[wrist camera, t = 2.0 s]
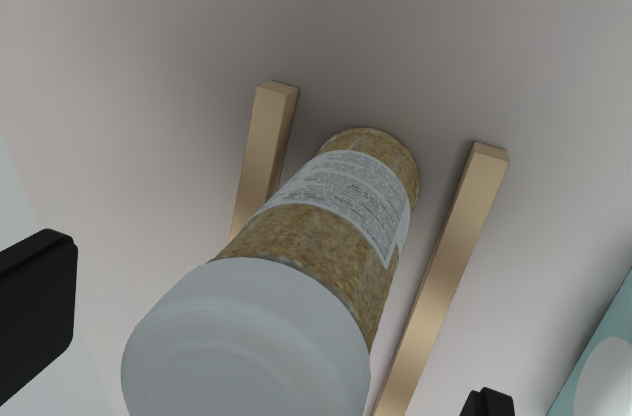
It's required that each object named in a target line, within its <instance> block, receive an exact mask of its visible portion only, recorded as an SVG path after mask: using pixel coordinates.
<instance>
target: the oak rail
mask: <svg viewBox="0 0 632 416" xmlns="http://www.w3.org/2000/svg"><path fill="white" fill-rule="evenodd" d="M298 91H299V88H295V87H292V86H289V85H285V84H282V83H279V82H275V81H272V80H270V81H267V82H265V83H263V84H260V85H258V86H257V87H256V92H255V98H254V104H253V109H252V115H251V120H250V126H249V131H248V137H247V143H246V148H245V154H244V159H243V165H242V170H241V176H240V181H239V187H238V193H237V198H236V204H235V209H234V215H233V220H232V226H231V231H230V237H229V243H230V242H231V241H232V240H233V239H234V238H235V237H236V236H237V234H238V232H239V231H240V229H241V228H242V227H243V226H244V224H245V223H246V222H247V221H248V220H249V219H250V218H251V217H252V216H253V215H254V214H255V213H256V212H257V211H258V210H259V209H260V208H261V207H262V206H263V205H264V204H265V203H266V202H267V201H268V200H269V199H270V198H271V197H272V196H273V195H274V194H275V193H276V192H277V188H278V184H279V179H280V174H281V170H282V165H283V160H284V156H285V151H286V146H287V142H288V137H289V133H290V128H291V123H292V119H293V114H294V109H295V105H296V100H297V95H298ZM508 164H509V158H508V154H507V151H506V150H503V149H500V148H496V147H493V146H489V145H486V144H483V143H479V142H476V141H475V142H474V144H473V147H472V150H471V152H470V155H469V158H468V160H467V163H466V166H465V168H464V171H463V173H462V176H461V179H460V181H459V184H458V187H457V189H456V192H455V195H454V197H453V200H452V203H451V205H450V208H449V211H448V213H447V216H446V218H445V221H444V224H443V226H442V229H441V232H440V234H439V237H438V240H437V242H436V245H435V248H434V250H433V253H432V256H431V258H430V261H429V263H428V266H427V269H426V271H425V274H424V277H423V279H422V282H421V285H420V287H419V290H418V293H417V295H416V298H415V300H414V303H413V306H412V308H411V311H410V314H409V316H408V319H407V322H406V324H405V327H404V330H403V332H402V335H401V338H400V340H399V343H398V345H397V348H396V351H395V353H394V356H393V359H392V361H391V364H390V367H389V369H388V372H387V375H386V377H385V380H384V383H383V385H382V388H381V390H380V393H379V396H378V398H377V401H376V404H375V406H374V409H373V412H372V414H371V416H404V415H405V412H406V410H407V407H408V405H409V402H410V400H411V398H412V395H413V393H414V390H415V388H416V386H417V383H418V381H419V378H420V376H421V374H422V371H423V369H424V366H425V364H426V362H427V359H428V357H429V354H430V352H431V350H432V347H433V345H434V342H435V340H436V338H437V335H438V333H439V330H440V328H441V325H442V323H443V321H444V318H445V316H446V313H447V311H448V309H449V306H450V304H451V301H452V299H453V297H454V294H455V292H456V289H457V287H458V285H459V282H460V280H461V277H462V275H463V273H464V270H465V268H466V265H467V263H468V261H469V258H470V256H471V253H472V251H473V248H474V246H475V244H476V241H477V239H478V236H479V234H480V232H481V229H482V227H483V224H484V222H485V220H486V217H487V215H488V212H489V210H490V208H491V205H492V203H493V200H494V198H495V196H496V193H497V191H498V188H499V186H500V184H501V181H502V179H503V176H504V174H505V172H506V169H507V167H508ZM229 243H228V244H229Z"/></svg>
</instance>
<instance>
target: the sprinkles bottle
mask: <svg viewBox="0 0 632 416" xmlns="http://www.w3.org/2000/svg"><path fill="white" fill-rule="evenodd" d="M419 194H420V178H419V172H418V168H417V166H416V163H415V161H414V159H413V157H412V155H411V153H410V151H409V150H408V149H407V148H406V147H405V146H404V145H402V144H401V143H400V142H399V141H398V140H397V139H396V138H394V137H392V136H391V135H389V134H388V133H386V132H383V131H380V130H376V129H373V128H353V129H349V130H345V131H342V132H340V133H338V134H336V135H334V136H332V137H331V138H329V139H328V140H327V141H326V142H325V143H324V144H323V145H322V146H321V147H320V149H319V150H318V152H317V153H316V154H315V156H314V158H313V159H312V160H310V161H309V162H308V163H306V164H305V165H304V166H303V167H302V168H301V169H300V170H299V171H297V172H296V173H295V174H294V175H293V176H292V178H290V179H289V180H288V181H287V182H286V183H285V184H284V185H283V186H282V187H281V188H280V189H279V190H278V191H277V192H276V193H275V194H274V195H273V196H272V197H271V198H270V199H269V200H268V201H267V202H266V203H265V204H264V205H263V206H262V207H261V208H260V209H259V210H258V211H257V212H256V213H255V214H254V215H253V216H252V217H251V218H250V219H249V220H248V221H247V222H246V223H245V224H244V226H243V227H242V228H241V229H240V231H239V232H238V234H237V236H236V237H235V238H234V239H233V240H232V241H231V242H230V243H229V244H228V245H227V246H226V247H225V248H224V249H223V250H222V251H221V252H220V253H219V254H218V255H217V256H216V257H215V258H214V259H212V260H210V261H208V262H207V263H205V264H204V265H201V266H199V267H197V268H196V269H194V270H192V271H191V272H189V273H188V274H187V275H185V276H184V277H183V278H182V279H181V280H180V281H179V282H178V283H177V284H175V285H174V286H173V287H172V288H171V289H170V290H169V291H168V292H167V293H166V294H165V295H164V296H163V297H162V298H161V299H160V300H159V302H158V303H157V304H156V305H155V306H154V307H153V308H152V309H151V310H150V311H149V313H148V314H147V315H146V316H145V317H144V318H143V319H142V320H141V321H140V322H139V323H138V325H137V326H136V327H135V329H134V330H133V332H132V334H131V336H130V337H129V339H128V341H127V344H126V347H125V350H124V353H123V357H122V364H121V385H122V391H123V395H124V399H125V403H126V406H127V409H128V411H129V414H130V416H362V414H363V411H364V407H365V403H366V399H367V395H368V391H369V386H370V379H371V376H370V357H369V355H370V352H371V348H372V344H373V341H374V338H375V335H376V332H377V330H378V325H379V321H380V318H381V315H382V313H383V307H384V305H385V302H386V300H387V297H388V295H389V289H390V285H391V283H392V280H393V277H394V274H395V272H396V270H397V268H398V265H399V262H400V259H401V255H402V251H403V248H404V244H405V241H406V237H407V233H408V230H409V225H410V215H411V212H412V211H413V210H414V208H415V206H416V204H417V201H418V198H419Z"/></svg>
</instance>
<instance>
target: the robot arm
mask: <svg viewBox="0 0 632 416" xmlns="http://www.w3.org/2000/svg"><path fill="white" fill-rule="evenodd" d="M77 259H78V248H77V246H76V245H75V244H74V241H73V239H72V237H70V236H68V235H66V234H63V233H60V232H57V231H55V230H52V229H47V228H46V229H43V230H41V231H39V232H37V233H35V234H33V235H32V236H30V237H28V238H26V239H24V240H22V241H20V242H18V243H16V244H14V245H13V246H11V247H9V248H7V249H5V250H3V251H1V252H0V406H2V405H3V403H5V402H6V401H7V400H8V399H10V398H11V397H12V396H13V395H14V394H16V393H17V392H18V391H19V390H20V389H21V388H23V387H24V386H25V385H26V384H27V383H28V382H30V381H31V380H32V379H33V378H34V377H35V376H36V375H37V374H39V373H40V372H41V371H42V370H43V369H44V368H46V367H47V366H48V365H49V364H50V363H51V362H53V361H54V360H55V359H56V358H57V357H59V356H60V355H61V354H62V353H63V352H64V351H65V350H66V349H67V348H68V347H69V345H70V343H71V341H72V338H73V327H74V310H75V293H76V276H77ZM459 416H515V412H514V404H513V399H512V397H511V396H508V395H506V394H503V393H500V392H497V391H495V390H492V389H489V388H486V387H483V388H482V389H481V391H480V393H479V392H477V391H474V390H472V391H471V392H470V394H469V396H468V398H467V400H466V402H465V404H464V407H463V409H462V411H461V413H460V415H459Z"/></svg>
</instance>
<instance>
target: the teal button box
mask: <svg viewBox="0 0 632 416" xmlns="http://www.w3.org/2000/svg"><path fill="white" fill-rule="evenodd" d="M546 416H632V268H631V270H630V272H629V274H628V275H627V277H626V279H625V281H624V282H623V284H622V286H621V287H620V289H619V291H618V293H617V294H616V296H615V298H614V300H613V301H612V303H611V305H610V307H609V308H608V310H607V312H606V313H605V315H604V317H603V319H602V320H601V322H600V324H599V326H598V327H597V329H596V331H595V332H594V334H593V336H592V338H591V339H590V341H589V343H588V345H587V346H586V348H585V350H584V351H583V353H582V355H581V357H580V358H579V360H578V362H577V364H576V365H575V367H574V369H573V371H572V372H571V374H570V376H569V377H568V379H567V381H566V383H565V384H564V386H563V388H562V390H561V391H560V393H559V395H558V396H557V398H556V400H555V402H554V403H553V405H552V407H551V409H550V410H549V412H548V414H547V415H546Z"/></svg>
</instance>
